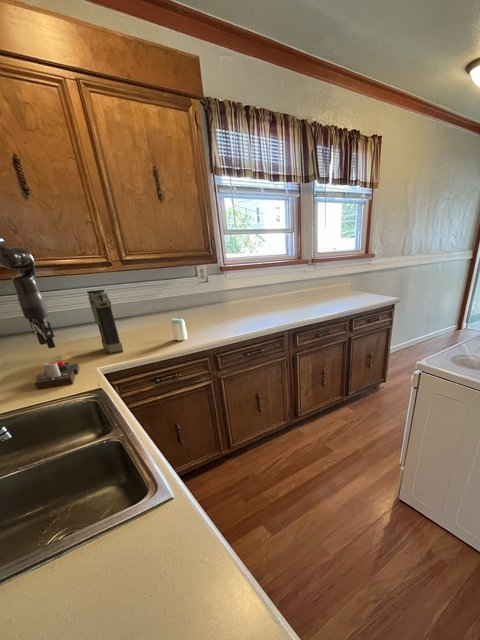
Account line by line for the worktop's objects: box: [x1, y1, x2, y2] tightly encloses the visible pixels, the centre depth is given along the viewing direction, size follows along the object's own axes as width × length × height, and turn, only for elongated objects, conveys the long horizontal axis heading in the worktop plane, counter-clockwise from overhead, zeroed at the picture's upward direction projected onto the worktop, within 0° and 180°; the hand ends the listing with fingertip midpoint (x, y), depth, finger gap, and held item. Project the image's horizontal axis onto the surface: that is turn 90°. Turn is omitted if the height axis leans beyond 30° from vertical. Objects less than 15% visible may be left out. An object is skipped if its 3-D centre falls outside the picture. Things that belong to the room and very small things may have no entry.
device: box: [86, 289, 124, 355], centre depth 165 cm, size 14×8×30 cm, turn 42°
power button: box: [55, 360, 65, 367], centre depth 141 cm, size 4×4×2 cm
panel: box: [34, 370, 76, 391], centre depth 133 cm, size 12×10×3 cm
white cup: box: [42, 360, 61, 378], centre depth 131 cm, size 4×4×6 cm
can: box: [171, 317, 188, 342], centre depth 186 cm, size 7×7×12 cm
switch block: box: [43, 361, 80, 375], centre depth 142 cm, size 12×8×4 cm, turn 118°
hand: (47, 345), depth 131 cm, fingers open, 8 cm apart
